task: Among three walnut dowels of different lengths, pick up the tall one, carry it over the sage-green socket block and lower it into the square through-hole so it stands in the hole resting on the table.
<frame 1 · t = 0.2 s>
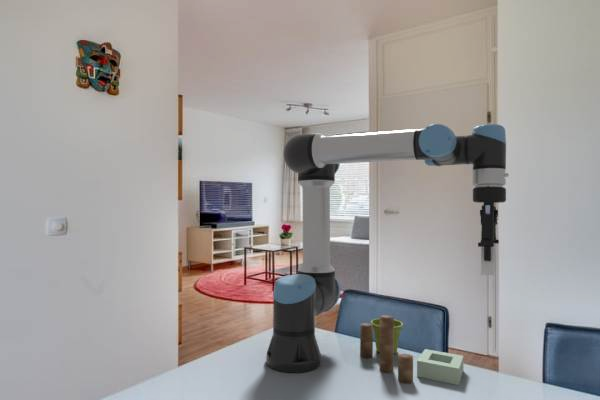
hand: (489, 271, 97), 28 cm above the table, fingers open, 13 cm apart
peg long: (386, 370, 103), on the table
plant pot: (386, 352, 117), on the table
peg medium: (366, 356, 113), on the table
hole block: (440, 373, 101), on the table
peg short: (405, 380, 97), on the table
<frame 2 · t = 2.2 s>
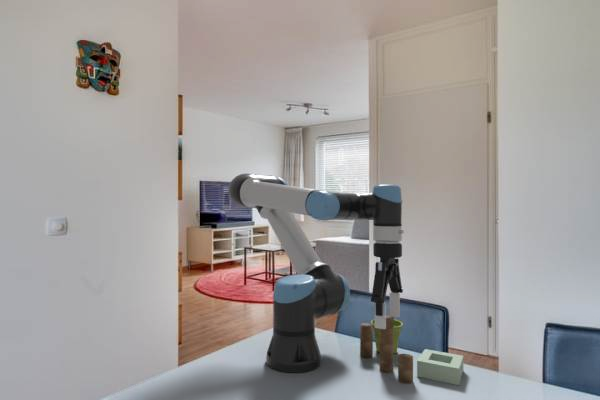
hand: (387, 322, 103), 13 cm above the table, fingers open, 13 cm apart
nothing on the table moved.
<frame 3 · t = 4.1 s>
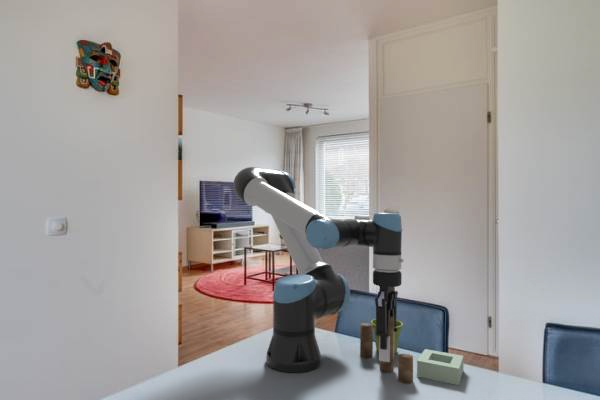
hand: (386, 358, 103), 3 cm above the table, fingers closed on peg long, 3 cm apart
peg long: (386, 369, 103), on the table, touching gripper
everything else where it was.
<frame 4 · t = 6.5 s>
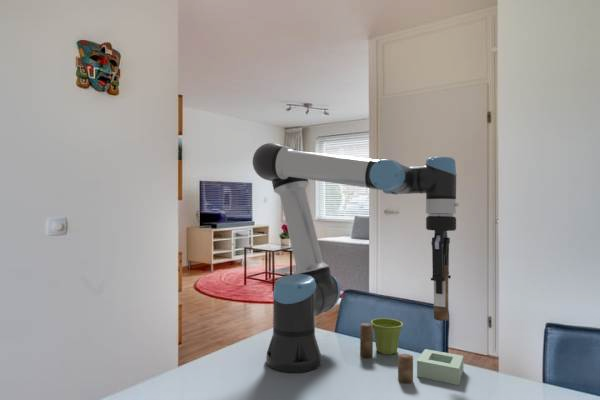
hand: (441, 304, 102), 18 cm above the table, fingers closed on peg long, 3 cm apart
peg long: (441, 318, 102), point 14 cm above the table, touching gripper
everything else where it was.
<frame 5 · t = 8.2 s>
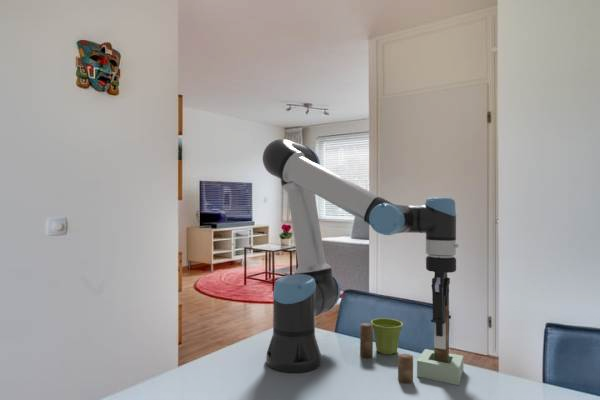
hand: (441, 345, 101), 7 cm above the table, fingers closed on peg long, 3 cm apart
peg long: (441, 360, 101), point 3 cm above the table, touching gripper
everything else where it was.
when the fingers open (6 cm above the table, at t = 9.3 s): peg long drops 1 cm, resting in hole block.
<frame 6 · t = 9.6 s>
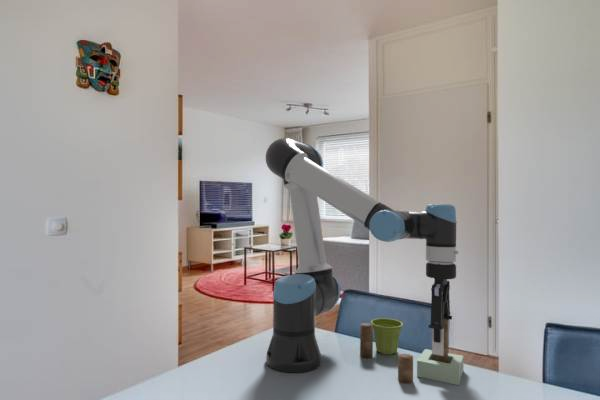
hand: (440, 348, 101), 6 cm above the table, fingers open, 9 cm apart
peg long: (440, 373, 101), resting in hole block
everything else where it was.
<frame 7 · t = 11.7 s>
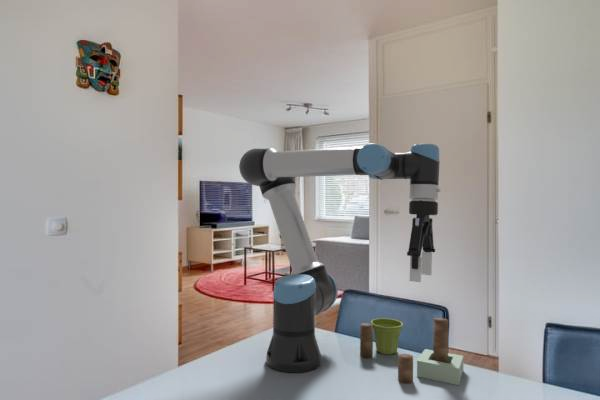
hand: (421, 278, 106), 24 cm above the table, fingers open, 13 cm apart
nothing on the table moved.
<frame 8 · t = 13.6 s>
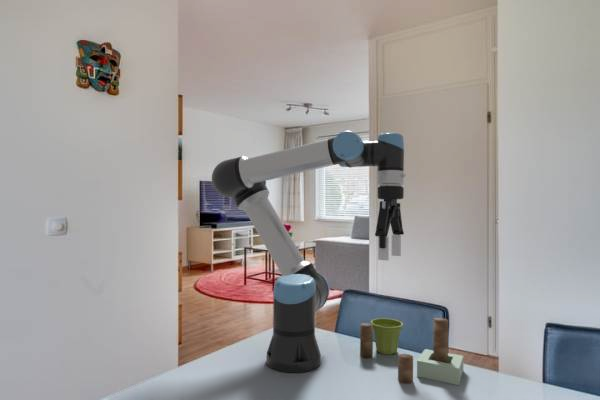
hand: (390, 257, 114), 29 cm above the table, fingers open, 13 cm apart
nothing on the table moved.
at the end: peg long 0.0 cm off-centre on the hole block, point 0.0 cm above the hole block's base; peg long tilted 0°; the gripper is holding nothing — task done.
